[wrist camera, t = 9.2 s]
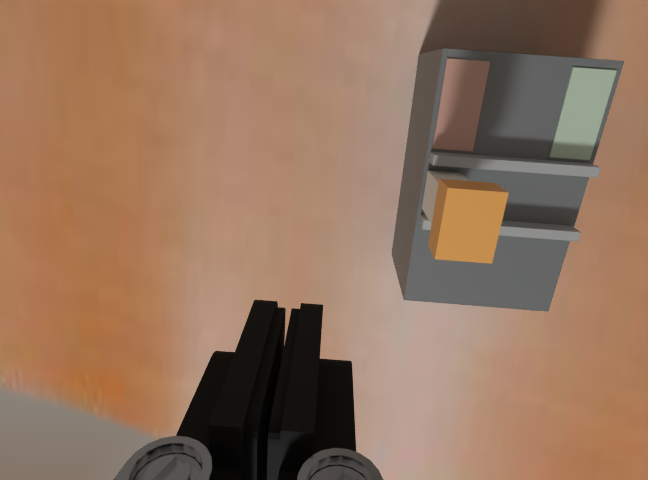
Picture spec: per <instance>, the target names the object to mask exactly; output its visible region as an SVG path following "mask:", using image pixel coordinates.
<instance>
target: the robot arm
mask: <svg viewBox="0 0 648 480" xmlns="http://www.w3.org/2000/svg"><path fill="white" fill-rule="evenodd" d="M322 313H323V305H318V304H304V303H301V307H300V309H292V310H291V316H290V321H289V326H288V331H287V336H286V341H285V346H284V337H285V308H279V307H278V303H277V301H264V300H254V302H253V305H252V308H251V311H250V313H249V316H248V319H247V321H246V324H245V327H244V329H243V332H242V335H241V338H240V340H239V343H238V346H237V348H236V351H235V352H222V351H215V352H214V353H213V355H212V357H211V359H210V361H209V363H208V365H207V368H206V370H205V372H204V374H203V377H202V379H201V381H200V383H199V386H198V388H197V390H196V392H195V395H194V397H193V399H192V401H191V403H190V406H189V408H188V410H187V412H186V415H185V417H184V419H183V421H182V424H181V426H180V428H179V430H178V432H177V435H176V436H172V437H166V438H161V439H158V440H156V441H153V442H151V443H148V444H147V445H145V446H144V447H143V448H141V449H139V450H138V451H137V452H135V453H134V454H133V455H132V457H131V458H130V459H129V460H128V461H127V462H126V463H125V464H124V466H123V467H122V469H121V470H120V471H119V473H118V474H117V476H116V477H115V478H114V480H383V479H382V476H381V474H380V472H379V470H378V469H377V468H376V466H375V465H374V464H373V463H372V462H371V461H370V460H369V459H367V458H366V457H364V456H363V455H361V454H360V453H357V452H356V440H355V419H354V398H353V377H352V362H351V361H343V360H330V359H320V343H321V328H322Z"/></svg>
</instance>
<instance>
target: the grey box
mask: <svg viewBox="0 0 648 480" xmlns="http://www.w3.org/2000/svg"><path fill="white" fill-rule="evenodd" d="M623 63H624V61H615V60H601V59H587V58H573V57H559V56H545V55H530V54H516V53H502V52H488V51H474V50H459V49H445V48H442V49H438V50H434V51H430V52H425V53H421V54H419V58H418V66H417V73H416V80H415V88H414V95H413V102H412V109H411V117H410V124H409V131H408V139H407V146H406V153H405V161H404V168H403V175H402V182H401V190H400V197H399V204H398V212H397V219H396V226H395V234H394V241H393V248H392V257H393V261H394V265H395V268H396V272H397V276H398V280H399V284H400V287H401V291H402V295H403V299H404V300H410V301H423V302H436V303H448V304H461V305H474V306H486V307H499V308H511V309H524V310H537V311H549V308H550V304H551V301H552V298H553V294H554V291H555V288H556V284H557V281H558V278H559V275H560V271H561V268H562V265H563V261H564V258H565V255H566V251H567V248H568V245H569V242H570V241H578V240H579V237H580V233H581V232H580V231H578V230H577V229H575V228H574V225H575V222H576V218H577V215H578V212H579V209H580V205H581V202H582V199H583V195H584V192H585V189H586V185H587V182H588V179H589V177H595V178H598V176H599V172H600V169H601V167H598V166H596V165H593V162H594V159H595V156H596V152H597V149H598V146H599V142H600V139H601V136H602V133H603V129H604V126H605V123H606V119H607V116H608V113H609V109H610V106H611V103H612V100H613V96H614V93H615V90H616V86H617V83H618V80H619V76H620V73H621V70H622V66H623ZM428 171H442V172H455V173H461V174H462V175H464V176H465V177H466V178H467V179H468V180H469V181H476V182H489V183H496V184H498V185H499V186H501V187H502V188H503V189H505V190H506V191H507V192H509V194H508V198H507V202H506V207H505V211H504V215H503V219H502V224H501V228H500V232H499V236H498V241H497V245H496V249H495V253H494V258H493V262H492V264H489V263H476V262H464V261H451V260H438V259H434V257H433V254H432V252H431V250H430V248H429V246H428V243H429V237H430V231H431V223H430V222H429V220H428V218H427V216H426V215H425V213H424V211H423V209H422V203H423V197H424V191H425V184H426V178H427V172H428Z"/></svg>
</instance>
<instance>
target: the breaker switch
mask: <svg viewBox="0 0 648 480" xmlns="http://www.w3.org/2000/svg"><path fill="white" fill-rule="evenodd" d="M508 194H509V192H507V191H506V190H505V189H503V188H502V187H501V186H499V185H498V184H496V183H489V182H476V181H469V180H468V179H467V178H466V177H465V176H464V175H462V174H461V173H455V172H442V171H428V172H427V178H426V184H425V191H424V197H423V203H422V209H423V211H424V213H425V215H426V216H427V218H428V220H429V222H430V223H431V231H430V237H429V243H428V246H429V248H430V250H431V252H432V254H433V257H434V259H438V260H451V261H464V262H476V263H489V264H492V262H493V258H494V253H495V249H496V245H497V241H498V236H499V232H500V228H501V224H502V219H503V215H504V211H505V207H506V202H507V198H508Z"/></svg>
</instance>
